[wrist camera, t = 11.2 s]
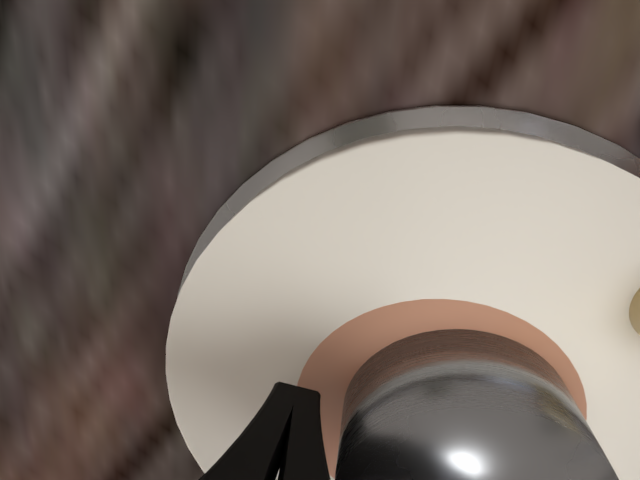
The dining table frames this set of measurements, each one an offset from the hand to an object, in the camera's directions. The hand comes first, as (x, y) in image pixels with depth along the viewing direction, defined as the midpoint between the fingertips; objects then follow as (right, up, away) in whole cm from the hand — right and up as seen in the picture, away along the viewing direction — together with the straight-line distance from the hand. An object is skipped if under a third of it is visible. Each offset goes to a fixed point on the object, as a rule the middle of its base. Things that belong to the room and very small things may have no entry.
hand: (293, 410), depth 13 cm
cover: (+5, -1, +1) cm, 5 cm away
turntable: (+5, 0, +3) cm, 5 cm away
